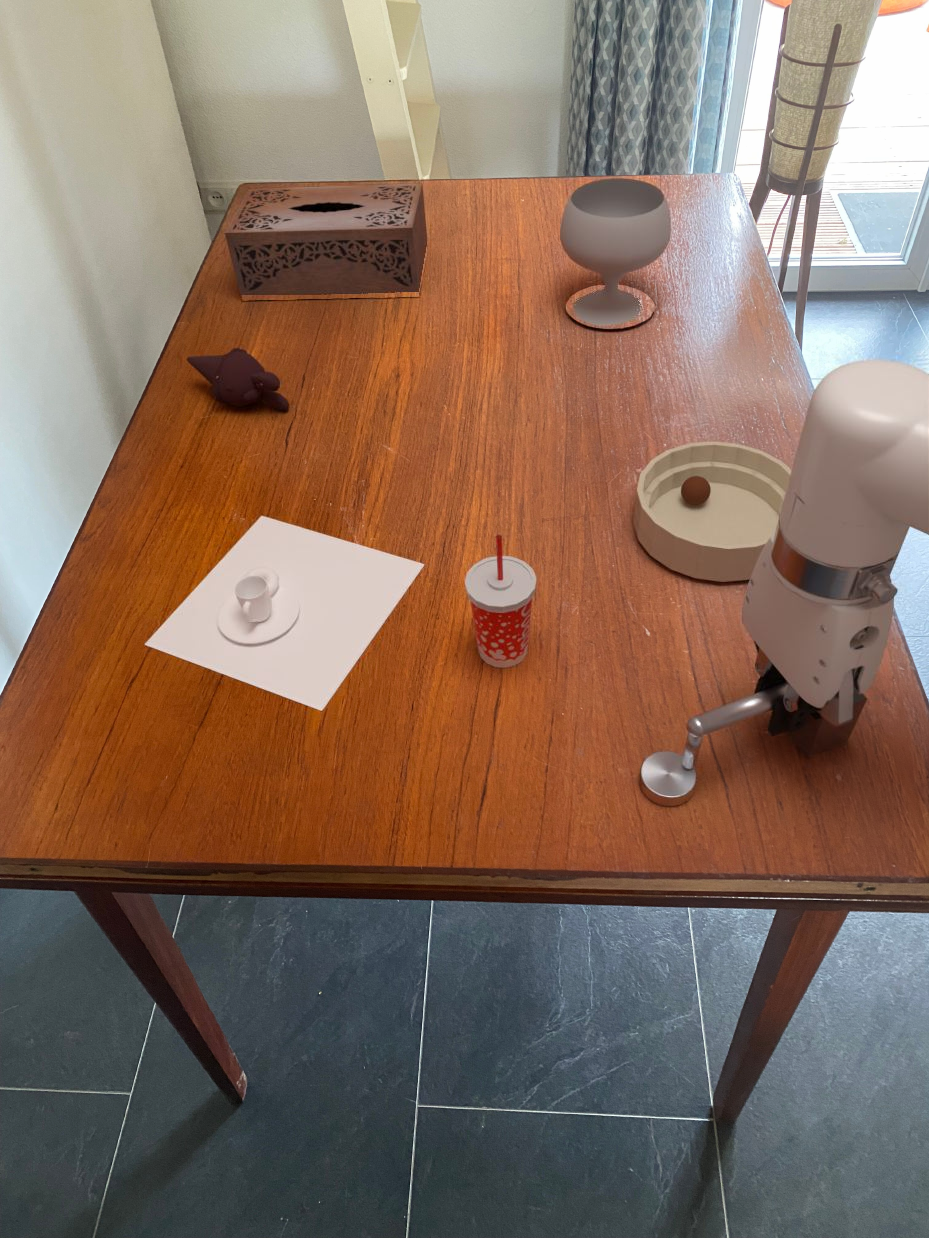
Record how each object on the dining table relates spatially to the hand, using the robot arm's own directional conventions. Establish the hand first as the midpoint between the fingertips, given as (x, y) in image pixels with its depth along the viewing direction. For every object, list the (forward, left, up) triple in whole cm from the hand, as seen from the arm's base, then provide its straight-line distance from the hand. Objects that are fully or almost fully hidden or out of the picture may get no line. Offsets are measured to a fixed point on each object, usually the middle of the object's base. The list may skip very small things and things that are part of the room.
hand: (777, 715), depth 72 cm
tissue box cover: (+10, -95, -4) cm, 96 cm away
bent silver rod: (+3, 0, -4) cm, 5 cm away
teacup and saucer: (+33, -32, -4) cm, 47 cm away
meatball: (-10, -28, -2) cm, 30 cm away
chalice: (-21, -68, -4) cm, 72 cm away
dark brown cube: (-4, 0, -4) cm, 6 cm away
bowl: (-10, -24, -4) cm, 27 cm away
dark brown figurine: (+30, -69, -4) cm, 76 cm away
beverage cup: (+16, -18, -4) cm, 25 cm away
